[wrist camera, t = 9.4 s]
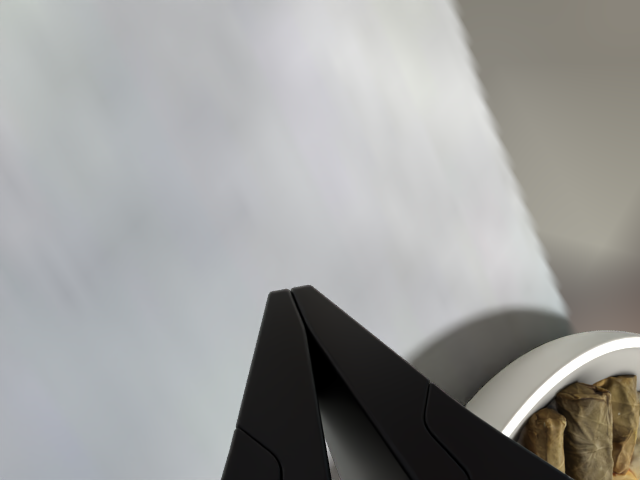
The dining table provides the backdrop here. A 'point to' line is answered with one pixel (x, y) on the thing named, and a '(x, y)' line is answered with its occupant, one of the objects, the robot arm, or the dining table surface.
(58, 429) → the dining table surface
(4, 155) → the dining table surface
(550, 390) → the bowl
